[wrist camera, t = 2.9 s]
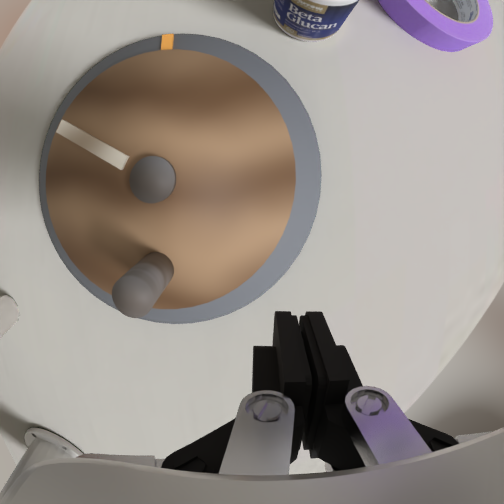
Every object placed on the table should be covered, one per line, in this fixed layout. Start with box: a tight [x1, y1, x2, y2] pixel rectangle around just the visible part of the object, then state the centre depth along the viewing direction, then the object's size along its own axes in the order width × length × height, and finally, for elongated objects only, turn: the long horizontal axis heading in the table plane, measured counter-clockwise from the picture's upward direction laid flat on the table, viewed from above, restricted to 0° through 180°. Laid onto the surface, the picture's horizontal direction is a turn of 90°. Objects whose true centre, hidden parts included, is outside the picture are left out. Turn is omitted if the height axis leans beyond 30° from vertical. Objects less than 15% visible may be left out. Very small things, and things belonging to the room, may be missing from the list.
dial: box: [46, 49, 296, 318], centre depth 17 cm, size 18×18×6 cm
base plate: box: [39, 34, 321, 324], centre depth 21 cm, size 22×22×2 cm
